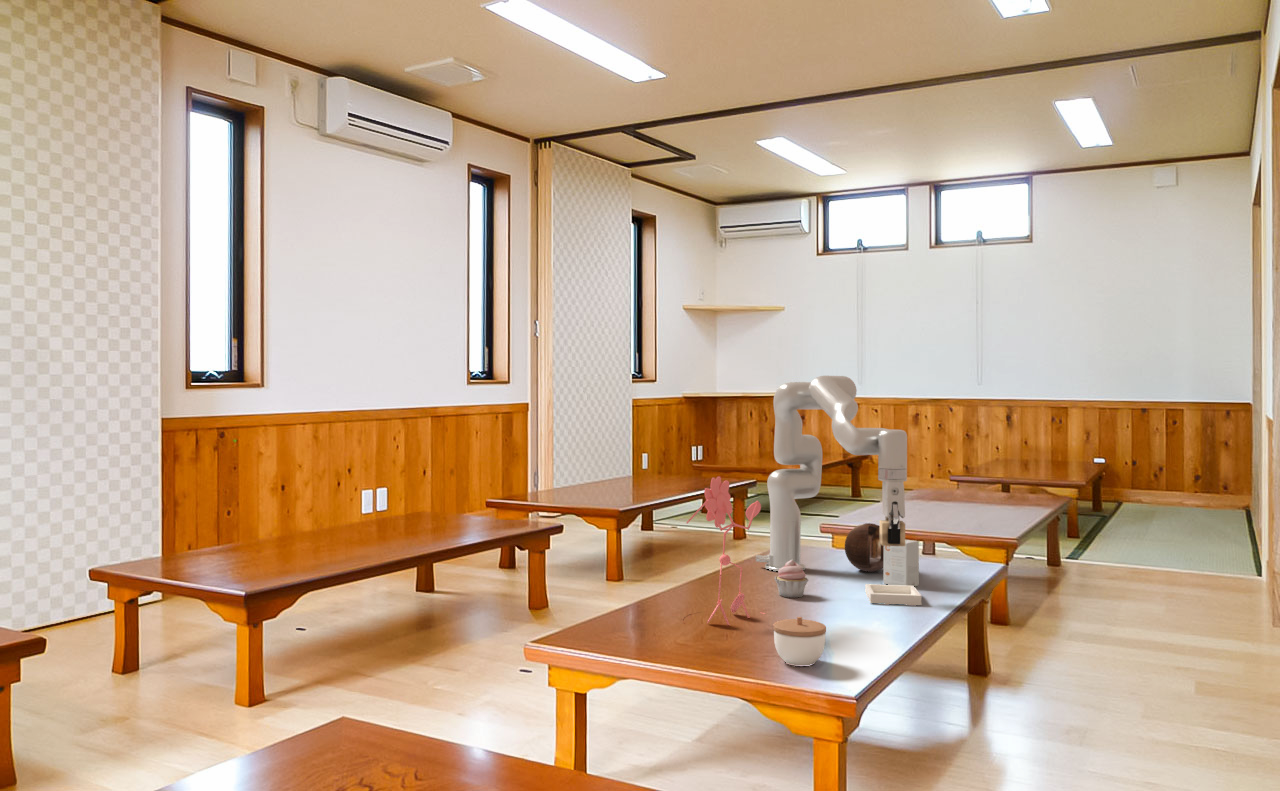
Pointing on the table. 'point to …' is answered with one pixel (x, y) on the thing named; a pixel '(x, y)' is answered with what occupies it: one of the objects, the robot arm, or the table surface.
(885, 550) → the small box
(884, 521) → the cube
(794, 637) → the lidded jar
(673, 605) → the table surface
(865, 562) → the wooden sphere
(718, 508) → the figurine
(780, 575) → the cupcake
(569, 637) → the table surface
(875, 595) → the tray
